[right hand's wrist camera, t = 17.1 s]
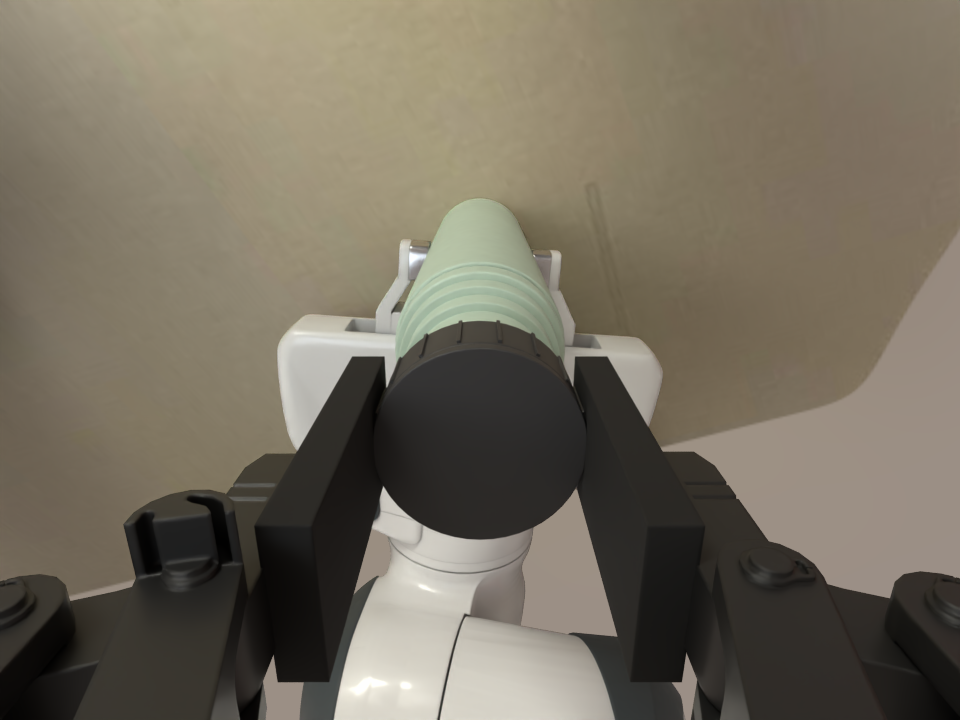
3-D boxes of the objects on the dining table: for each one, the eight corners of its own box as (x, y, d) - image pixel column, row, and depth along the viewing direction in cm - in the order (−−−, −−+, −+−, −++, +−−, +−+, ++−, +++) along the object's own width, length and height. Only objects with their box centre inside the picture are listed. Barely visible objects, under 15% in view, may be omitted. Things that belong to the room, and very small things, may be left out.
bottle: (540, 246, 38) (651, 449, 13) (475, 300, 39) (468, 579, 14) (484, 179, 36) (494, 267, 12) (419, 237, 37) (305, 427, 13)
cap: (499, 276, 13) (502, 299, 11) (614, 426, 15) (633, 468, 13) (344, 393, 14) (323, 431, 12) (464, 524, 16) (462, 576, 14)
